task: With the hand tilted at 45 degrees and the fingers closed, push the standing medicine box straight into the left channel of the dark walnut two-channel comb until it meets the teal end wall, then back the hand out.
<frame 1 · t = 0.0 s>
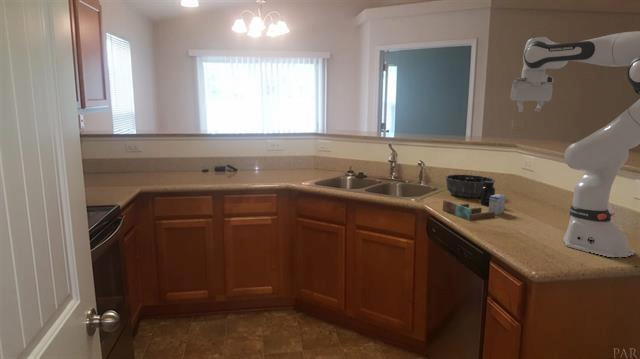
hand: (529, 112, 179), 48 cm above the worktop, tool pointing down, fingers open, 8 cm apart
medicine box: (496, 213, 202), on the worktop
bundt pan: (468, 195, 242), on the worktop
supplement bottle: (486, 205, 220), on the worktop
slot comb: (468, 213, 201), on the worktop
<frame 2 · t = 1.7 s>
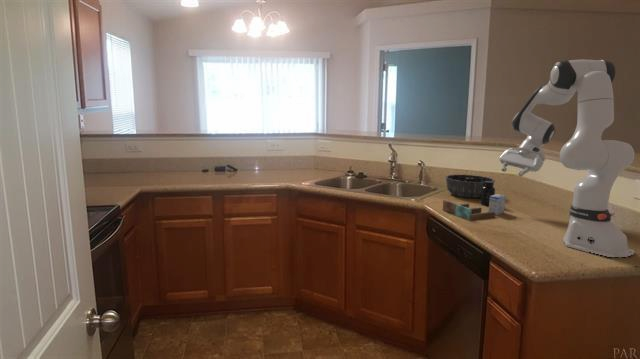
hand: (511, 172, 203), 19 cm above the worktop, tool tilted 45°, fingers open, 8 cm apart
nothing on the worktop moved.
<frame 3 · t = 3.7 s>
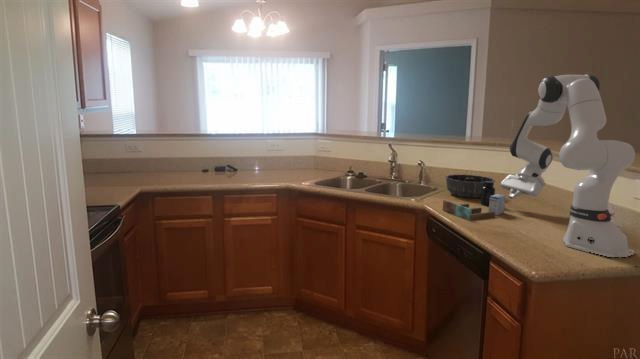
hand: (511, 197, 205), 7 cm above the worktop, tool tilted 45°, fingers closed
nothing on the worktop moved.
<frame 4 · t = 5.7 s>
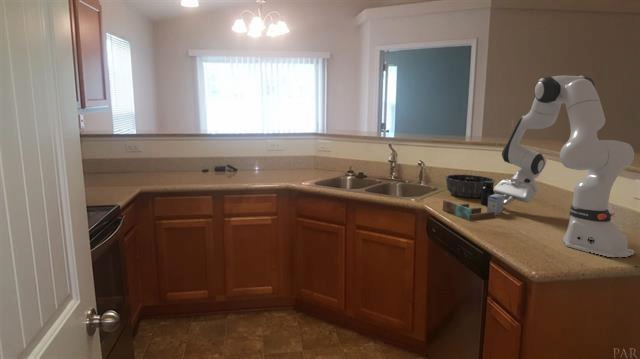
hand: (503, 203, 203), 4 cm above the worktop, tool tilted 45°, fingers closed
medicine box: (494, 213, 202), on the worktop, touching gripper
everything else where it was.
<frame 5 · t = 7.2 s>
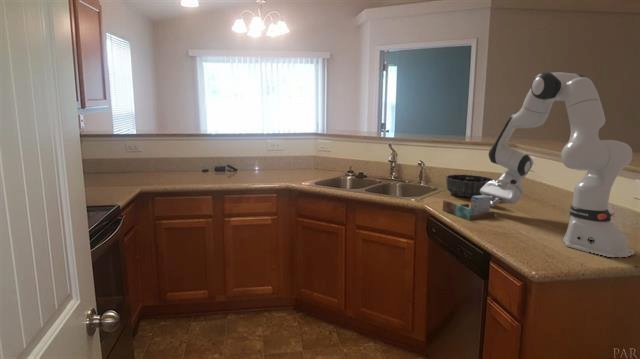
hand: (489, 205, 200), 4 cm above the worktop, tool tilted 45°, fingers closed, pressing on medicine box
medicine box: (479, 214, 200), on the worktop, touching gripper
everything else where it was.
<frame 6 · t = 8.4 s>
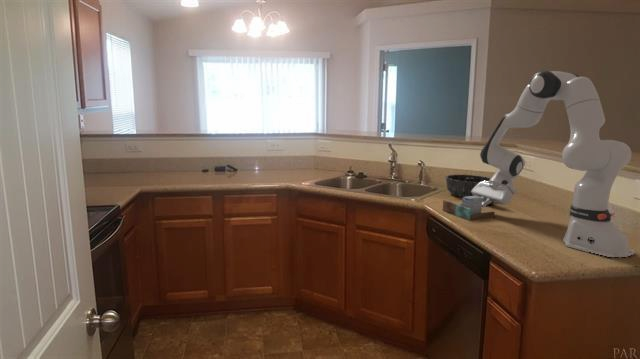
hand: (480, 206, 198), 4 cm above the worktop, tool tilted 45°, fingers closed, pressing on medicine box
medicine box: (470, 215, 198), on the worktop, touching gripper
everything else where it was.
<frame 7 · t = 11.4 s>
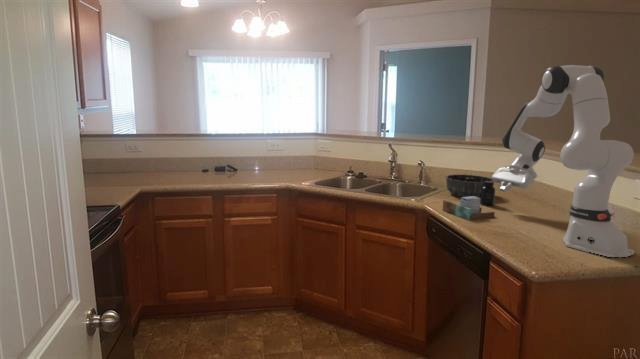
hand: (502, 190, 201), 11 cm above the worktop, tool tilted 45°, fingers closed
medicine box: (469, 216, 197), on the worktop
everything else where it was.
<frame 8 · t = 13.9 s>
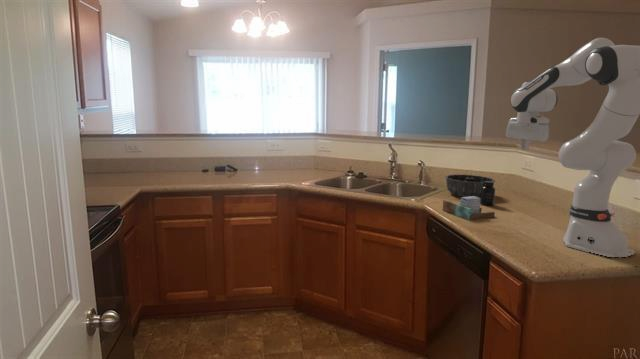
hand: (524, 149, 192), 31 cm above the worktop, tool pointing down, fingers closed
nothing on the worktop moved.
at the end: medicine box 1.2 cm from the target spot on the slot comb, point 0.0 cm above the slot comb's base; medicine box tilted 0°; medicine box moved 15.5 cm from its start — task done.
